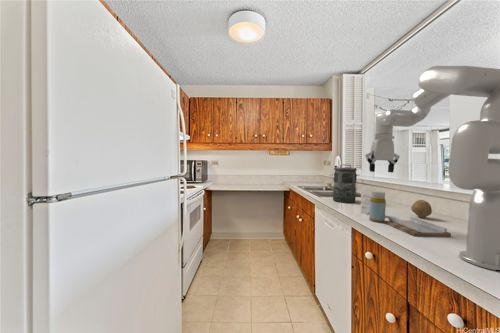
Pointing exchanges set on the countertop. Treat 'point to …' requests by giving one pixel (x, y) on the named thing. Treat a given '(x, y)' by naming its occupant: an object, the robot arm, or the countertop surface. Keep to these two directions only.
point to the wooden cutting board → (419, 225)
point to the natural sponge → (421, 208)
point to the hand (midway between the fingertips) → (381, 171)
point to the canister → (344, 184)
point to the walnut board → (415, 233)
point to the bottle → (377, 206)
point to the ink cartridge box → (365, 201)
